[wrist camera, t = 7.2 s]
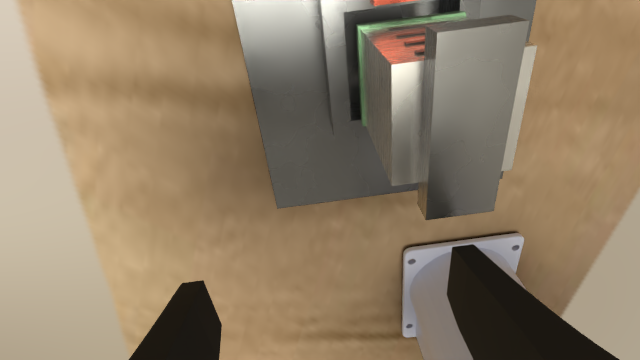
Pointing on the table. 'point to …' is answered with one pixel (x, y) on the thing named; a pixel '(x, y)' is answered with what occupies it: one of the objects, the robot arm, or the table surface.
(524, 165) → the table surface
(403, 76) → the grey block
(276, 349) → the table surface
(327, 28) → the stand
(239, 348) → the table surface
